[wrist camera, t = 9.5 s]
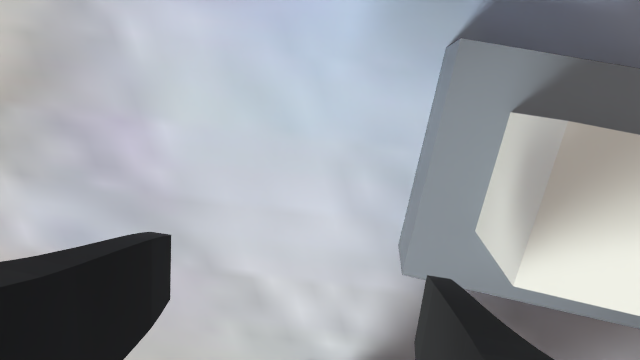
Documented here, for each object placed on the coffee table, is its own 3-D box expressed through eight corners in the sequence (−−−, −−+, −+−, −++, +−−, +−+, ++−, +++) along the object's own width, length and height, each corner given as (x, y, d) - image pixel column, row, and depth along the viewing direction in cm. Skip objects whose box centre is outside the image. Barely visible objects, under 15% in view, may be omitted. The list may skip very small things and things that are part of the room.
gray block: (593, 285, 21) (642, 329, 17) (398, 242, 22) (402, 274, 18) (666, 87, 18) (742, 85, 15) (444, 48, 19) (460, 38, 16)
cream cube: (599, 259, 17) (690, 328, 12) (475, 231, 17) (513, 286, 12) (645, 138, 15) (767, 159, 11) (510, 112, 16) (567, 121, 11)
